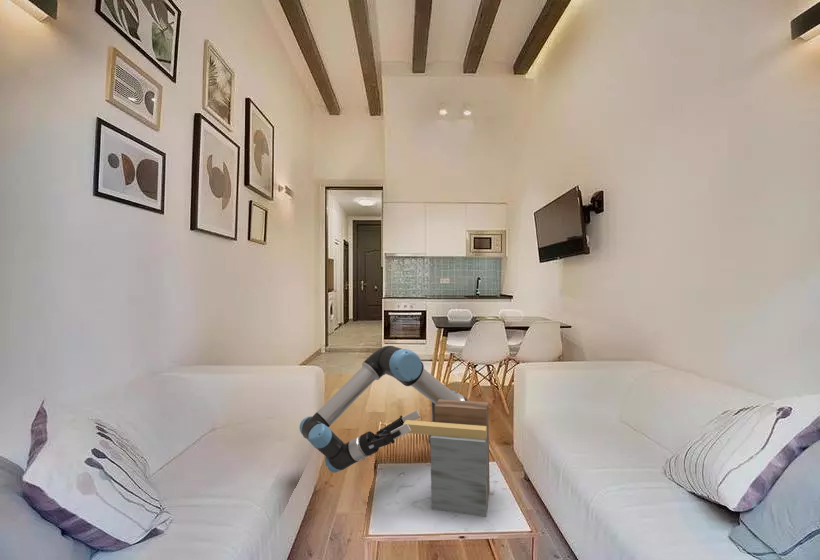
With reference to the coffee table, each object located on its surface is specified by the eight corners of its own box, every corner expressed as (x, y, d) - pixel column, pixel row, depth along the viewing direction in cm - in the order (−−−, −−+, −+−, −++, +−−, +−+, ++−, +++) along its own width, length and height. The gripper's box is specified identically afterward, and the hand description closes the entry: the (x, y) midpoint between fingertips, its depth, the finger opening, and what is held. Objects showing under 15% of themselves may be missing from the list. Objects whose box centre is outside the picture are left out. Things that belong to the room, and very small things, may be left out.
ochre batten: (406, 428, 142) (406, 419, 142) (486, 435, 135) (486, 426, 135) (403, 432, 138) (403, 424, 138) (485, 439, 131) (485, 430, 131)
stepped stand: (440, 484, 149) (438, 399, 149) (489, 490, 145) (488, 402, 144) (431, 509, 134) (429, 413, 134) (486, 516, 129) (484, 417, 129)
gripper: (380, 441, 155) (426, 417, 150) (356, 471, 131) (410, 444, 126) (371, 423, 156) (416, 399, 151) (345, 451, 132) (398, 422, 127)
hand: (414, 419), depth 139 cm, fingers open, 13 cm apart
